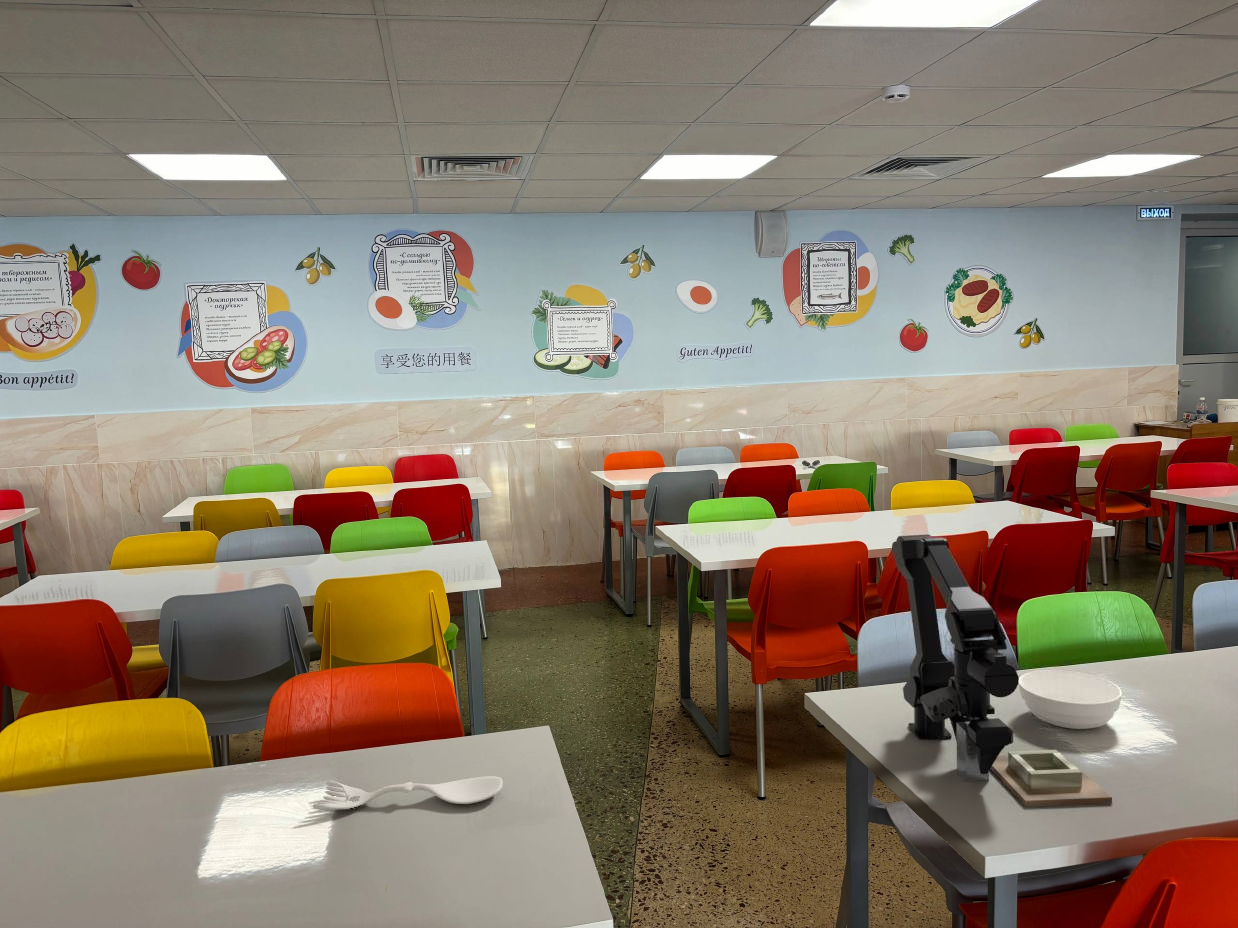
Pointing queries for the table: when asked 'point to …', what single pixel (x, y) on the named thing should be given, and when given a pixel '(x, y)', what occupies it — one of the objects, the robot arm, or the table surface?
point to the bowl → (1070, 698)
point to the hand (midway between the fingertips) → (972, 761)
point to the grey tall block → (967, 756)
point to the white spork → (449, 791)
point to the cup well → (1047, 779)
